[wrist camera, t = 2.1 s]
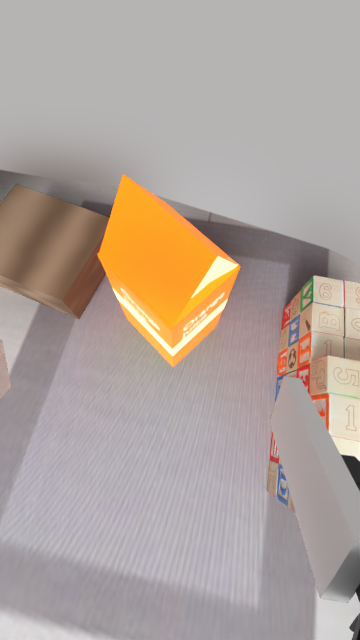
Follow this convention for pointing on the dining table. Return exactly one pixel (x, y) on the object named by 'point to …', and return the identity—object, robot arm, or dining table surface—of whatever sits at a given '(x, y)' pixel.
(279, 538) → the dining table surface
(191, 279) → the orange juice
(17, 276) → the base brick
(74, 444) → the dining table surface
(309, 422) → the robot arm
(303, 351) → the stack of blocks
